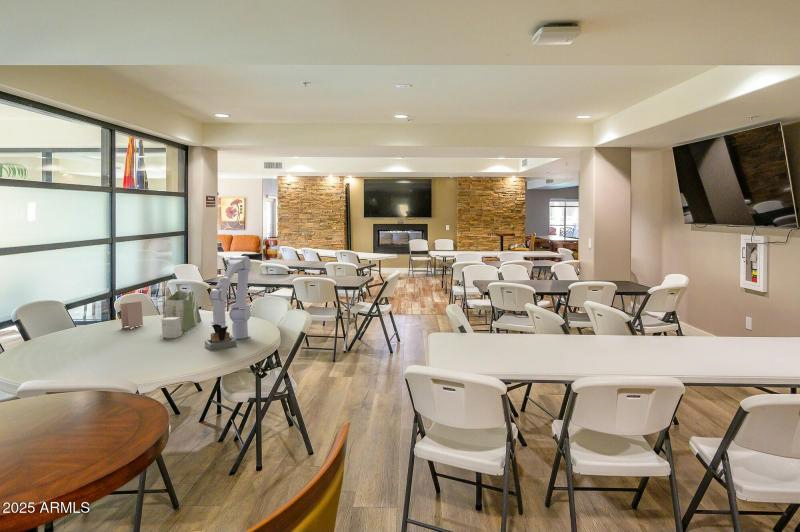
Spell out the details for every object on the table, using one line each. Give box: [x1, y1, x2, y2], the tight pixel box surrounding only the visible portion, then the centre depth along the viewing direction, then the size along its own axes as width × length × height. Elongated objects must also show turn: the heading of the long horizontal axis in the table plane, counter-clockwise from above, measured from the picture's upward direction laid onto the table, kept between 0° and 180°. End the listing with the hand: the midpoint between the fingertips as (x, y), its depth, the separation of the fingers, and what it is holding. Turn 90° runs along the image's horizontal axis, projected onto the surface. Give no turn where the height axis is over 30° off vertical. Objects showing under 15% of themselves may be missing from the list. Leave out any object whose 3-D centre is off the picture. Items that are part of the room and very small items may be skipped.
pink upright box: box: [120, 300, 144, 329], centre depth 292 cm, size 11×7×15 cm, turn 133°
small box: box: [160, 317, 183, 339], centre depth 268 cm, size 8×6×10 cm
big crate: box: [204, 335, 238, 351], centre depth 248 cm, size 10×13×3 cm
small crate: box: [210, 330, 231, 343], centre depth 247 cm, size 5×8×4 cm, turn 125°
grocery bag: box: [162, 288, 202, 333], centre depth 292 cm, size 32×14×23 cm, turn 8°
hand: (220, 339), depth 247 cm, fingers closed on small crate, 5 cm apart
